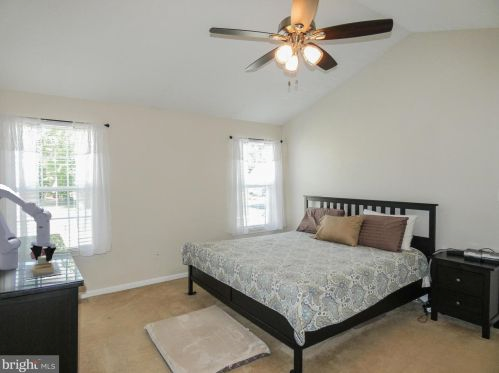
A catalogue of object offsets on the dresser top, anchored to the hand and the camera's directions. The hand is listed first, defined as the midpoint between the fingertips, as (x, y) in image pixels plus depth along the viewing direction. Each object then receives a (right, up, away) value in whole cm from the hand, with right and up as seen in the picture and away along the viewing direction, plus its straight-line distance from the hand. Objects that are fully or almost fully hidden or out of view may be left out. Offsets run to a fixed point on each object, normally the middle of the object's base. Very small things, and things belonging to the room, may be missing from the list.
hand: (43, 260), depth 155 cm
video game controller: (-15, -4, +19) cm, 25 cm away
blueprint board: (+3, -4, -5) cm, 7 cm away
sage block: (0, -3, 0) cm, 3 cm away
